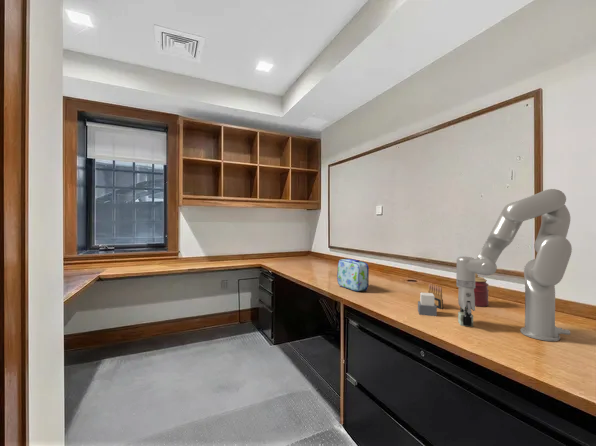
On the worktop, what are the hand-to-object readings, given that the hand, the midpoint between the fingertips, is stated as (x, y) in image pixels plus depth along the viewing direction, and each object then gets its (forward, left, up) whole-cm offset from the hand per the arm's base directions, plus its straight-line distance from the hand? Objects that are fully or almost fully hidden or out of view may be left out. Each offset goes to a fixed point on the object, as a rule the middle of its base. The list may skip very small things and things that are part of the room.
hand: (465, 322), depth 130 cm
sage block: (0, 0, -1) cm, 1 cm away
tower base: (+15, -12, -1) cm, 19 cm away
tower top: (+15, -12, +4) cm, 20 cm away
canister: (-14, -40, -1) cm, 42 cm away
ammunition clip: (+9, -27, -1) cm, 28 cm away
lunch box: (+58, -55, -1) cm, 80 cm away
